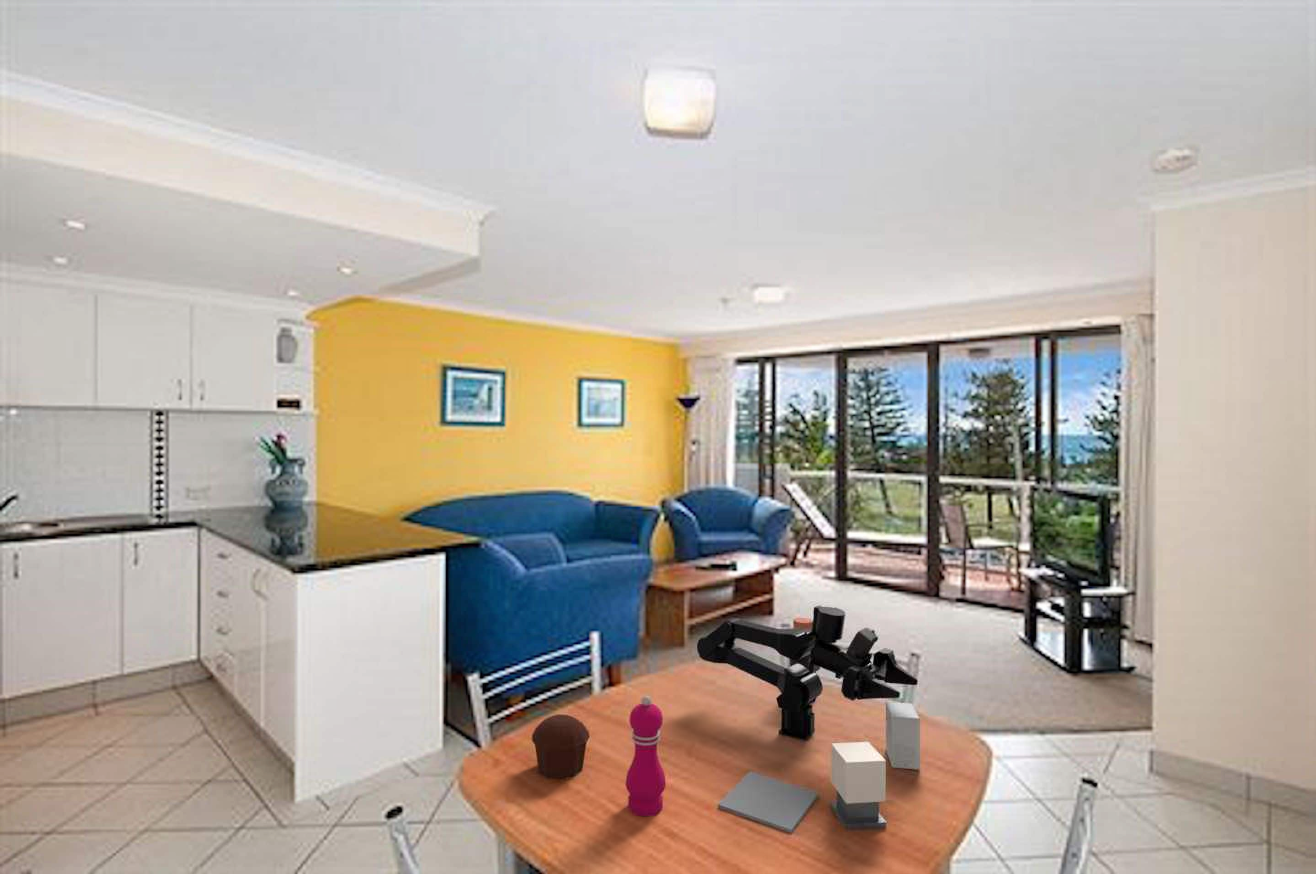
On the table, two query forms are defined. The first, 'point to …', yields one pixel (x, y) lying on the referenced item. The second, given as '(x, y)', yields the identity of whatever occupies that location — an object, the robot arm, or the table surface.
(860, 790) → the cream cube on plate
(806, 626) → the bottle
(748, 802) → the mat
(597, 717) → the table surface
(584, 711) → the table surface
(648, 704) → the pepper mill
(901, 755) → the small box
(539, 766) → the muffin
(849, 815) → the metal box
